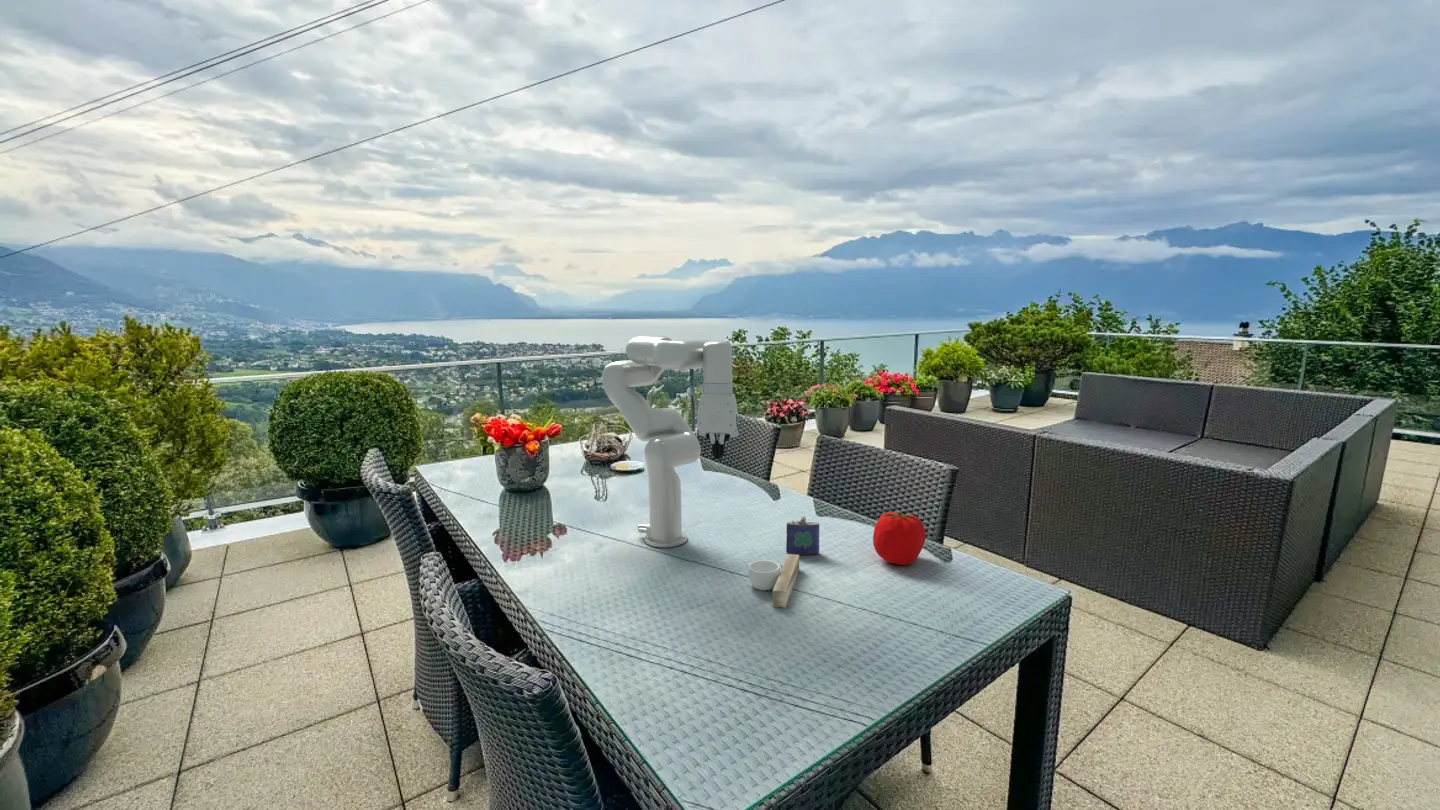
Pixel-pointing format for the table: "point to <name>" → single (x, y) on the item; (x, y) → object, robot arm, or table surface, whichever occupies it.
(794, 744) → the table surface
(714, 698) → the table surface
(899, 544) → the tomato
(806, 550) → the clover hip flask
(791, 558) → the wooden bar
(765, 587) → the teacup
